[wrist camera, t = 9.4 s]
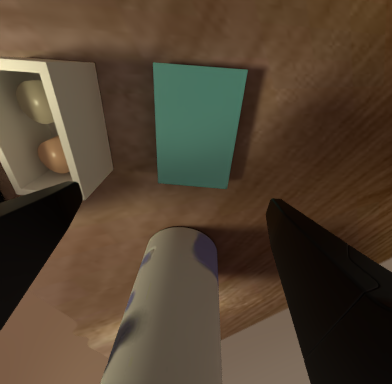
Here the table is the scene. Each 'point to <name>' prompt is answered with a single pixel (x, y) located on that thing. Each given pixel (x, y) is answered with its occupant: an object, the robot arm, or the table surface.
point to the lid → (196, 122)
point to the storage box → (52, 125)
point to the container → (171, 315)
